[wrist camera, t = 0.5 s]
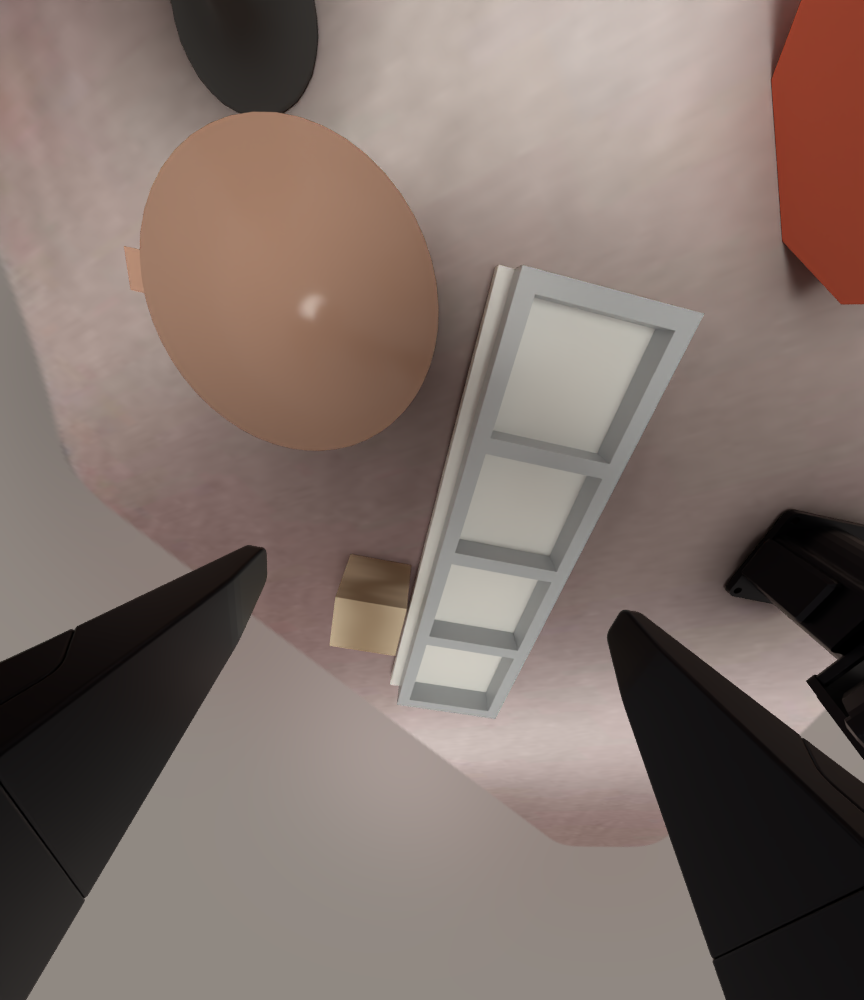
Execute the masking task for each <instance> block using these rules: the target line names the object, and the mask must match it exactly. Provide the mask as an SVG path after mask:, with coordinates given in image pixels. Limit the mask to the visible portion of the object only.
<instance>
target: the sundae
mask: <svg viewBox="0 0 864 1000" xmlns="http://www.w3.org/2000/svg"><path fill="white" fill-rule="evenodd" d="M171 5H172V9H173V14H174V20H175V24H176V27H177V31H178V34H179V38H180V42H181V44H182V46H183V48H184V50H185V52H186V55H187V57H188V59H189V61H190V63H191V64H192V66H193V68H194V70H195V71H196V73H197V75H198V77H199V78H200V80H201V81H202V82H203V83H204V84H205V85H206V87H207V88H208V89H209V90H210V91H211V92H212V93H213V94H214V95H215V96H216V97H217V98H218V99H219V100H220V101H221V102H222V103H223V104H224V105H226V106H228V107H229V108H231V109H233V110H235V111H236V112H239V113H241V114H242V113H248V112H278V113H282V112H284V111H286V110H287V109H288V108H290V107H291V106H292V105H293V104H295V103H296V102H297V101H298V99H299V98H300V96H301V95H302V93H303V92H304V90H305V88H306V86H307V84H308V82H309V80H310V78H311V76H312V72H313V68H314V63H315V58H316V51H317V42H318V29H317V15H316V9H315V2H314V0H171Z"/></svg>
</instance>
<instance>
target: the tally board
mask: <svg viewBox="0 0 864 1000" xmlns="http://www.w3.org/2000/svg"><path fill="white" fill-rule="evenodd" d="M703 315H704V313H700V312H696V311H693V310H689V309H685V308H681V307H678V306H674V305H670V304H666V303H663V302H659V301H655V300H652V299H648V298H644V297H640V296H637V295H633V294H629V293H626V292H622V291H618V290H614V289H611V288H607V287H603V286H599V285H596V284H592V283H588V282H585V281H581V280H577V279H573V278H570V277H566V276H562V275H559V274H555V273H551V272H547V271H544V270H540V269H536V268H532V267H529V266H525V265H521V266H519V267H518V268H516V269H513V268H509V267H506V266H502V265H498V266H496V267H495V270H494V274H493V278H492V282H491V286H490V290H489V294H488V297H487V301H486V305H485V309H484V313H483V317H482V321H481V325H480V329H479V333H478V337H477V340H476V344H475V348H474V352H473V356H472V360H471V364H470V368H469V372H468V376H467V379H466V383H465V387H464V391H463V395H462V399H461V403H460V407H459V411H458V415H457V419H456V422H455V426H454V430H453V434H452V438H451V442H450V446H449V450H448V454H447V458H446V462H445V465H444V469H443V473H442V477H441V481H440V485H439V489H438V493H437V497H436V501H435V505H434V508H433V512H432V516H431V520H430V524H429V528H428V532H427V536H426V540H425V544H424V548H423V551H422V555H421V559H420V563H419V567H418V571H417V575H416V579H415V583H414V587H413V591H412V594H411V598H410V602H409V606H408V610H407V614H406V618H405V622H404V626H403V630H402V634H401V637H400V641H399V645H398V649H397V653H396V657H395V661H394V665H393V669H392V673H391V680H390V685H396V686H399V689H398V699H397V705H402V706H409V707H416V708H423V709H430V710H437V711H444V712H451V713H458V714H465V715H472V716H479V717H485V718H492V719H496V717H497V715H498V713H499V711H500V709H501V707H502V705H503V703H504V701H505V699H506V697H507V695H508V693H509V691H510V689H511V687H512V686H513V684H514V682H515V680H516V678H517V676H518V674H519V672H520V670H521V668H522V666H523V664H524V662H525V660H526V658H527V656H528V655H529V653H530V651H531V649H532V647H533V645H534V643H535V641H536V639H537V637H538V635H539V633H540V631H541V629H542V627H543V625H544V624H545V622H546V620H547V618H548V616H549V614H550V612H551V610H552V608H553V606H554V604H555V602H556V600H557V598H558V596H559V594H560V593H561V591H562V589H563V587H564V585H565V583H566V581H567V579H568V577H569V575H570V573H571V571H572V569H573V567H574V565H575V563H576V562H577V560H578V558H579V556H580V554H581V552H582V550H583V548H584V546H585V544H586V542H587V540H588V538H589V536H590V534H591V532H592V531H593V529H594V527H595V525H596V523H597V521H598V519H599V517H600V515H601V513H602V511H603V509H604V507H605V505H606V503H607V501H608V499H609V498H610V496H611V494H612V492H613V490H614V488H615V486H616V484H617V482H618V480H619V478H620V476H621V474H622V472H623V470H624V468H625V467H626V465H627V463H628V461H629V459H630V457H631V455H632V453H633V451H634V449H635V447H636V445H637V443H638V441H639V439H640V437H641V436H642V434H643V432H644V430H645V428H646V426H647V424H648V422H649V420H650V418H651V416H652V414H653V412H654V410H655V408H656V406H657V405H658V403H659V401H660V399H661V397H662V395H663V393H664V391H665V389H666V387H667V385H668V383H669V381H670V379H671V377H672V375H673V374H674V372H675V370H676V368H677V366H678V364H679V362H680V360H681V358H682V356H683V354H684V352H685V350H686V348H687V346H688V344H689V343H690V341H691V339H692V337H693V335H694V333H695V331H696V329H697V327H698V325H699V323H700V321H701V319H702V317H703Z"/></svg>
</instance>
